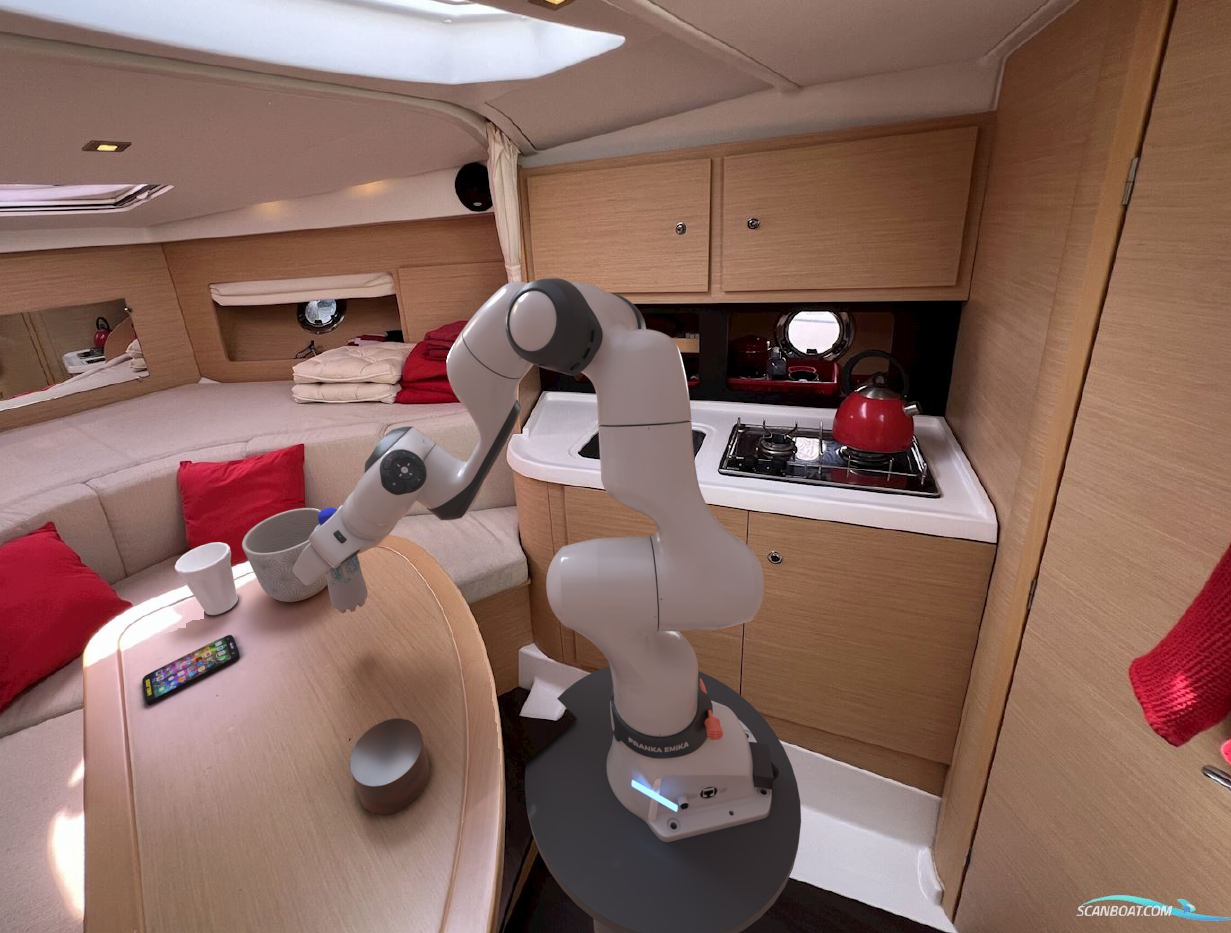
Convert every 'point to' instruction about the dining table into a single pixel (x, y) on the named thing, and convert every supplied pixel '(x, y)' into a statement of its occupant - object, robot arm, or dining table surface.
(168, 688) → the smartphone
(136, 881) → the dining table surface
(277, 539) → the planter
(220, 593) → the cup
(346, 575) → the bottle
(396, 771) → the pedestal
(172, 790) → the dining table surface
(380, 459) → the robot arm
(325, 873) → the dining table surface
